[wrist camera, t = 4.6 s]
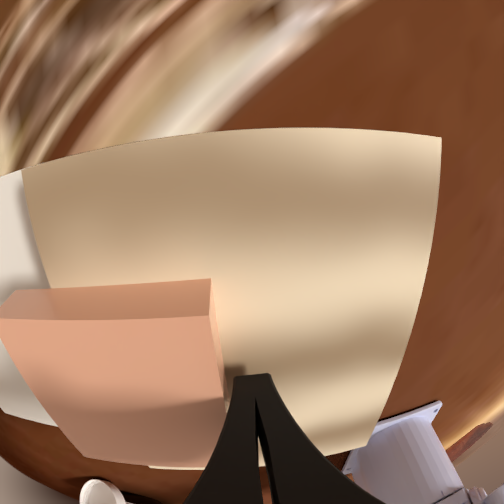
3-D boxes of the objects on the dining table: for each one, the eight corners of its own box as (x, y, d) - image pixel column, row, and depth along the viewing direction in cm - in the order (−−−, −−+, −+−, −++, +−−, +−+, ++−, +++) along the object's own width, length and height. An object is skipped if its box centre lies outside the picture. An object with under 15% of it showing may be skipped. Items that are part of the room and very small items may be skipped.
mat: (141, 432, 17) (140, 437, 17) (6, 409, 16) (4, 412, 16) (44, 162, 10) (38, 164, 9) (-85, 213, 9) (-90, 216, 9)
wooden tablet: (376, 504, 36) (379, 511, 34) (343, 509, 33) (345, 516, 31) (494, 420, 28) (499, 427, 27) (478, 417, 25) (484, 425, 24)
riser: (352, 413, 18) (366, 445, 15) (154, 432, 17) (149, 467, 14) (397, 132, 11) (441, 137, 8) (61, 157, 10) (20, 169, 7)
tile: (235, 433, 13) (238, 466, 11) (92, 428, 12) (84, 456, 11) (211, 278, 9) (209, 315, 7) (15, 289, 9) (-10, 317, 7)
